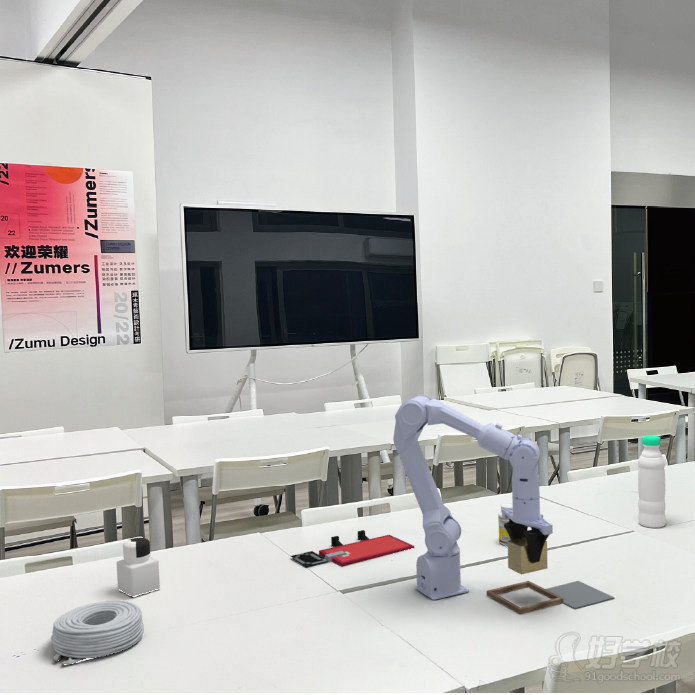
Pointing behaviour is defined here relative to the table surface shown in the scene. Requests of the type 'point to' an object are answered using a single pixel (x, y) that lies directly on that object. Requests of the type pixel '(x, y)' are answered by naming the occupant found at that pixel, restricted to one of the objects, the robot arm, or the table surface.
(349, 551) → the red board with handle
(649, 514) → the water bottle
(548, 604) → the wooden frame
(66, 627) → the cable
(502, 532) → the supplement bottle
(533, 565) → the tan box
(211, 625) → the table surface
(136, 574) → the medicine bottle
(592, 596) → the mat
